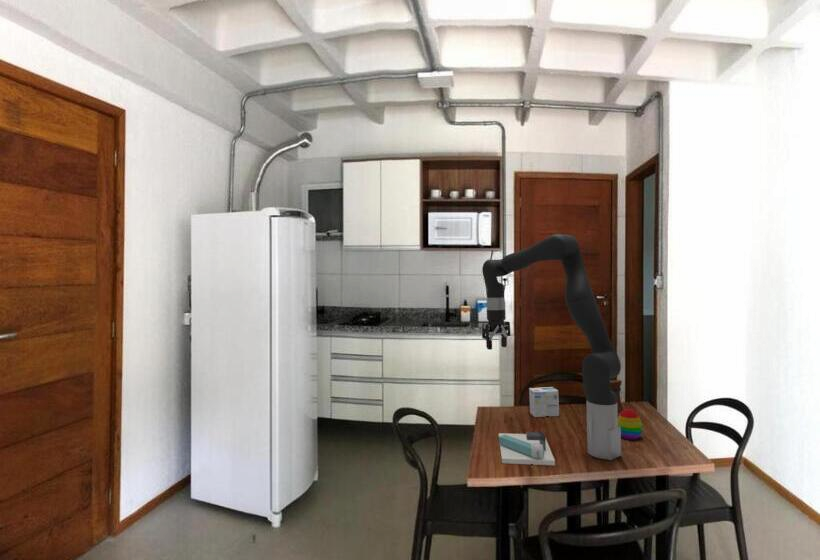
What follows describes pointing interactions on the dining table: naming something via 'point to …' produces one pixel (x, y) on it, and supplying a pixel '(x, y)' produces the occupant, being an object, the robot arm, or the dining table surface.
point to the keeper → (537, 438)
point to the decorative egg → (630, 424)
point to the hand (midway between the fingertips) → (496, 348)
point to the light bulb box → (544, 401)
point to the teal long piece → (522, 446)
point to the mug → (616, 388)
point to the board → (520, 458)
